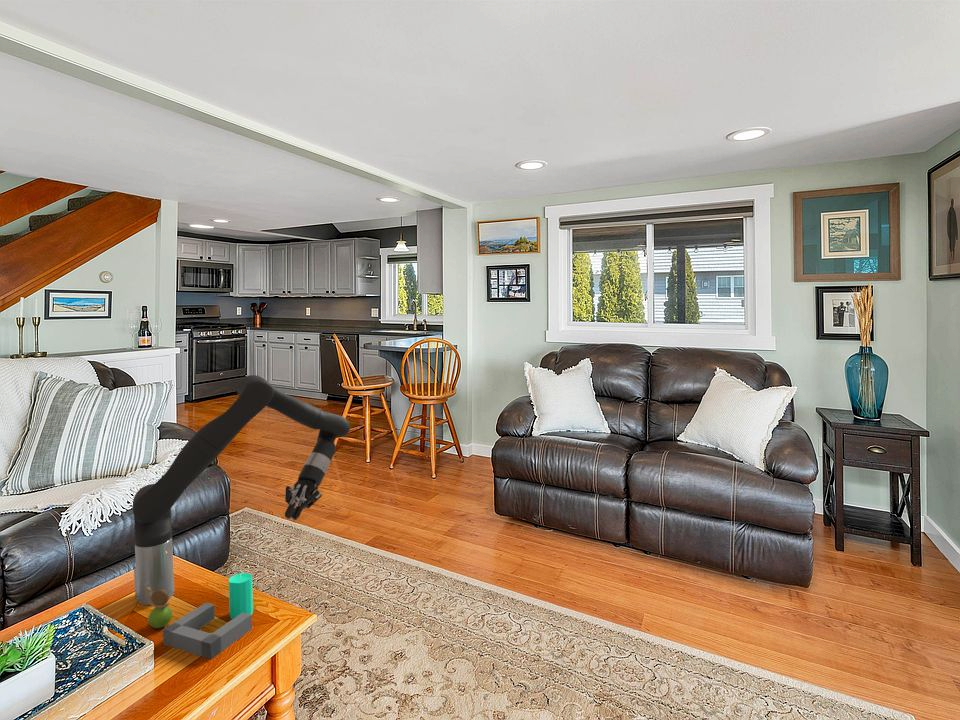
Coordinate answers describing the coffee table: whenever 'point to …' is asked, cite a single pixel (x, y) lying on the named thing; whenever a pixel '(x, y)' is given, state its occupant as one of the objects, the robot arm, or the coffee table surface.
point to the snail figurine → (158, 607)
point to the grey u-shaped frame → (203, 643)
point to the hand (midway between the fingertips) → (290, 518)
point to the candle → (240, 594)
